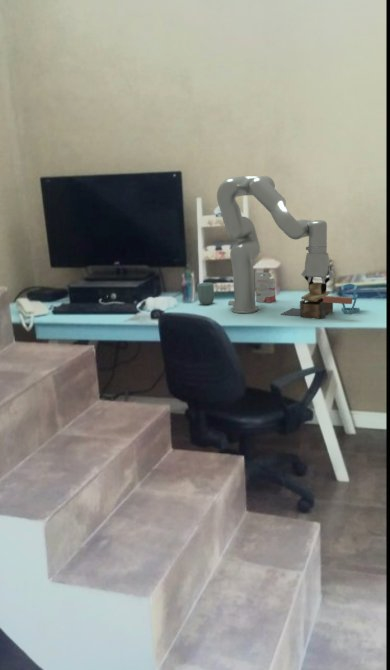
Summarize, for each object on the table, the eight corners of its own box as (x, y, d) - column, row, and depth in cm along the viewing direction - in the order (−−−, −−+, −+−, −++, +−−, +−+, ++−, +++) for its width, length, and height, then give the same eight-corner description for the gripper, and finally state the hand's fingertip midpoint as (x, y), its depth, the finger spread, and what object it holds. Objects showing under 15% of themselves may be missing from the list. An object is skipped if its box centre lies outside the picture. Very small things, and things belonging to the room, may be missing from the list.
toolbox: (300, 317, 276) (299, 301, 274) (313, 310, 287) (313, 295, 285) (322, 319, 270) (322, 303, 268) (335, 311, 281) (335, 296, 279)
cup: (217, 302, 317) (216, 282, 315) (209, 306, 311) (207, 285, 309) (204, 301, 322) (202, 282, 319) (195, 305, 315) (194, 285, 313)
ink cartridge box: (276, 300, 312) (274, 270, 308) (271, 303, 308) (270, 272, 304) (260, 299, 316) (259, 270, 313) (255, 302, 313) (254, 272, 309)
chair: (339, 314, 277) (338, 286, 274) (341, 309, 284) (341, 282, 281) (357, 314, 274) (357, 286, 271) (359, 309, 282) (359, 282, 279)
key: (323, 302, 269) (322, 296, 268) (324, 301, 270) (324, 295, 270) (350, 304, 262) (350, 298, 261) (352, 303, 263) (352, 297, 263)
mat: (280, 314, 283) (280, 313, 283) (292, 308, 293) (292, 308, 292) (301, 316, 277) (301, 315, 277) (312, 310, 287) (312, 309, 287)
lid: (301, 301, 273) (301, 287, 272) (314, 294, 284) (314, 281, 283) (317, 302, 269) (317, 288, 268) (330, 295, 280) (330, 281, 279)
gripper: (295, 250, 274) (295, 292, 279) (333, 252, 265) (332, 295, 270) (303, 247, 280) (303, 288, 285) (340, 249, 271) (339, 291, 276)
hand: (317, 291), depth 278 cm, fingers closed on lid, 4 cm apart
